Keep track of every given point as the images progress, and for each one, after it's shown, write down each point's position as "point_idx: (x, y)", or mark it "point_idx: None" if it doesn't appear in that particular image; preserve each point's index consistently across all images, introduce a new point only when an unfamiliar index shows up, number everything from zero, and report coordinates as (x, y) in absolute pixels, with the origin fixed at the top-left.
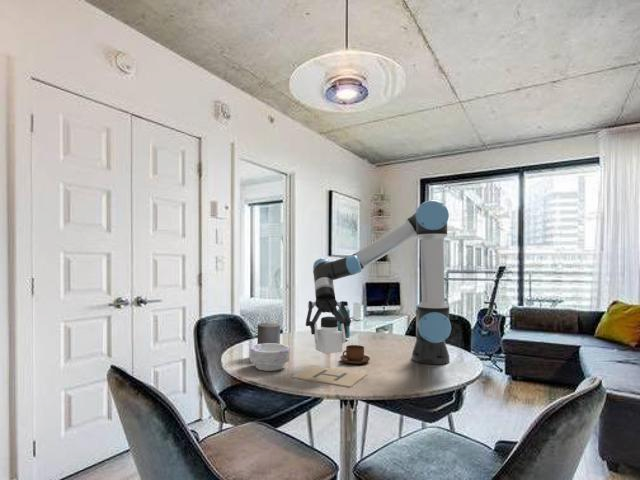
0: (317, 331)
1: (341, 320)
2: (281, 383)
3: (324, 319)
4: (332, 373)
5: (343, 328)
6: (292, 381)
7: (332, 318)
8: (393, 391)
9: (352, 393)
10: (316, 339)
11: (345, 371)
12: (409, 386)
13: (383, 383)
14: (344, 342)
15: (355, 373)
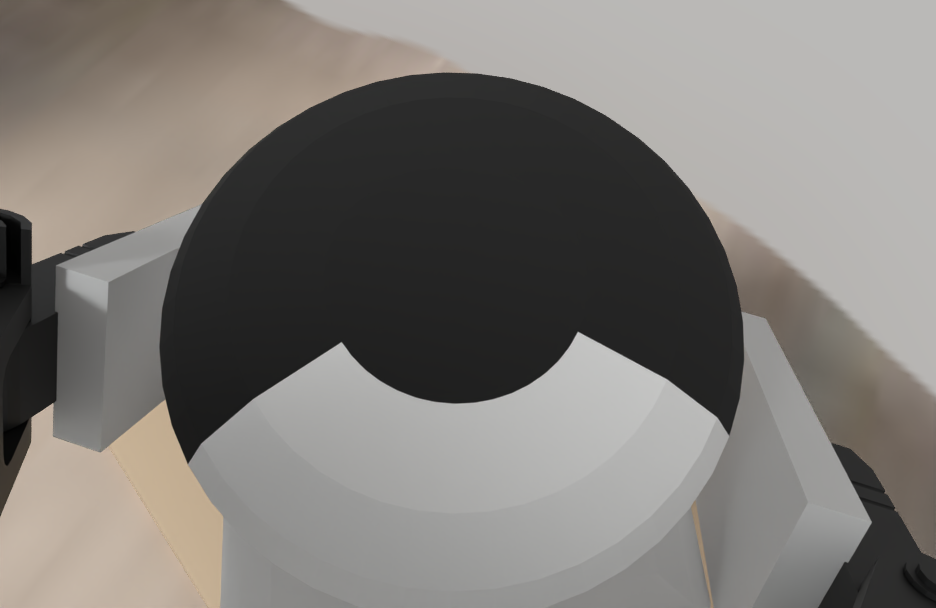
0: (695, 531)
1: (2, 336)
2: (924, 485)
3: (690, 193)
4: None
5: (166, 233)
6: None
7: (450, 90)
8: (204, 21)
9: None
10: (751, 319)
11: (220, 562)
12: (26, 51)
13: (138, 165)
14: None
15: (174, 456)
